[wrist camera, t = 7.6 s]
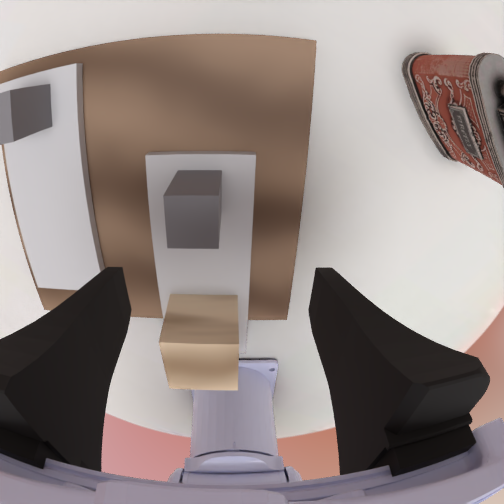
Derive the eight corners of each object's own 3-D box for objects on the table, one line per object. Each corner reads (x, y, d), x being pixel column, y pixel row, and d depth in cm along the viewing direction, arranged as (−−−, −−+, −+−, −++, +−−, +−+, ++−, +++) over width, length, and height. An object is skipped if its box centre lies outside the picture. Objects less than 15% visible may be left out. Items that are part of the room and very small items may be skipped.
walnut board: (285, 310, 25) (286, 319, 24) (48, 302, 23) (44, 309, 22) (312, 42, 15) (316, 40, 14) (5, 71, 14) (-3, 72, 13)
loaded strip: (245, 345, 25) (248, 394, 21) (170, 344, 24) (162, 392, 20) (255, 151, 17) (262, 176, 13) (148, 152, 17) (122, 177, 13)
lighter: (391, 65, 16) (505, 72, 7) (426, 44, 15) (543, 47, 6) (441, 167, 19) (539, 232, 11) (471, 144, 18) (572, 197, 10)
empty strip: (108, 284, 21) (86, 330, 17) (42, 281, 21) (14, 321, 17) (82, 63, 14) (38, 63, 10) (6, 83, 13) (-42, 92, 9)
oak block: (236, 342, 23) (237, 390, 20) (176, 340, 23) (169, 388, 19) (237, 295, 21) (239, 344, 17) (170, 293, 21) (158, 342, 17)
